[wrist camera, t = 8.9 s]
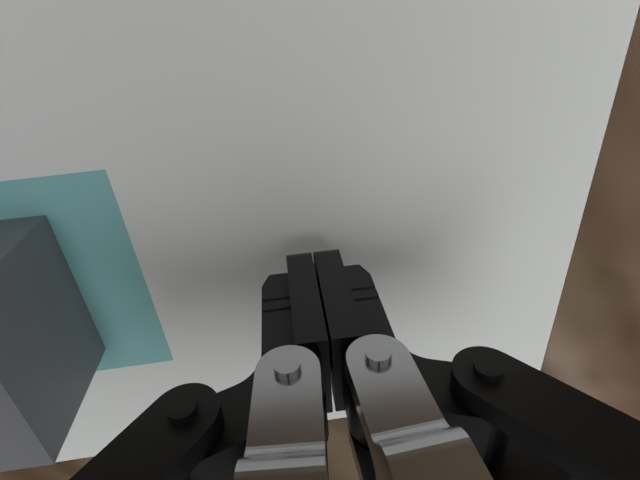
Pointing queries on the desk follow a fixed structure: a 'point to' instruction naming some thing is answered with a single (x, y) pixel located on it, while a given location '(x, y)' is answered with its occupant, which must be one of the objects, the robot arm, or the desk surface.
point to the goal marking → (96, 260)
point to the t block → (40, 345)
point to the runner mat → (319, 160)
